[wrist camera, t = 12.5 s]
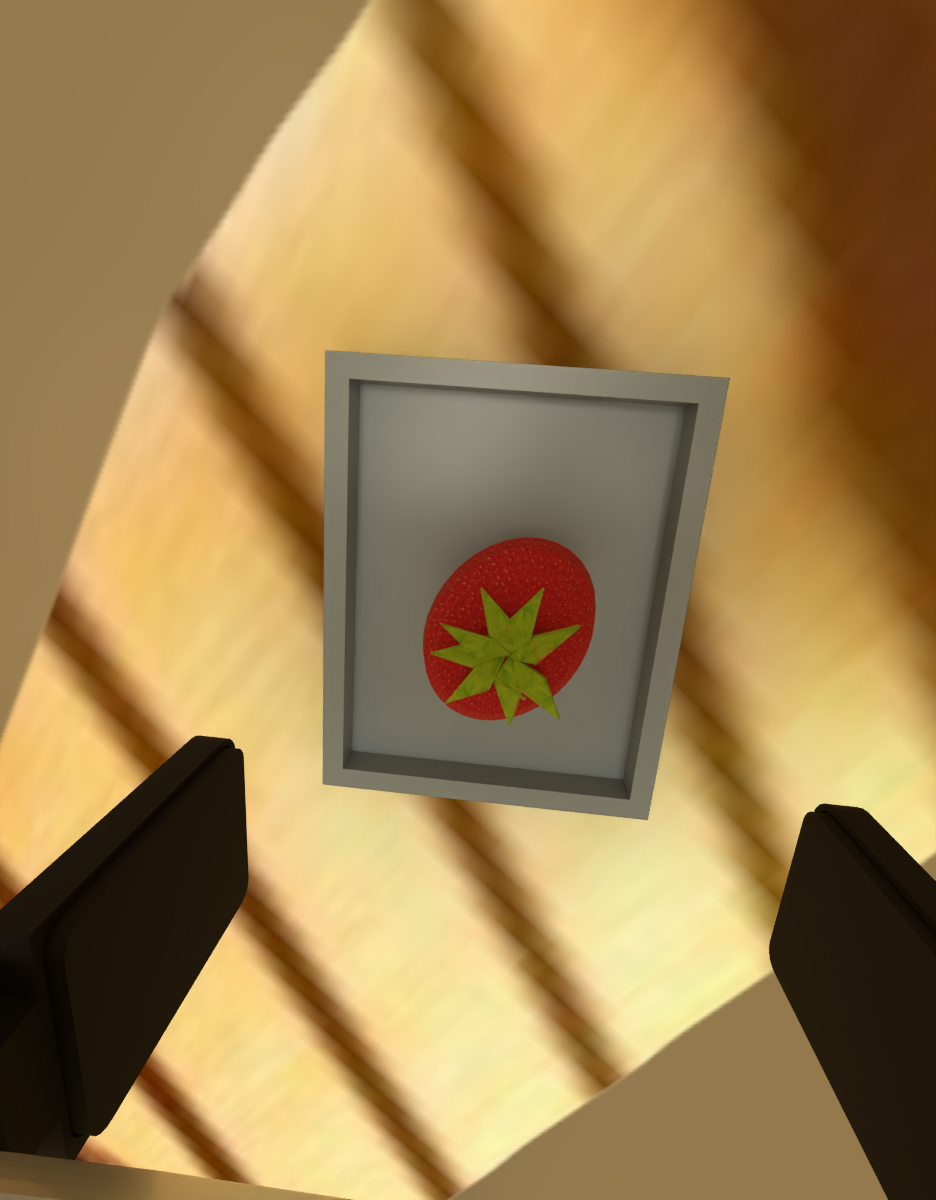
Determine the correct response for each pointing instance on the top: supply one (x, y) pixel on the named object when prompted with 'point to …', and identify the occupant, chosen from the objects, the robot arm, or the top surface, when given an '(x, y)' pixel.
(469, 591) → the strawberry
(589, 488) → the tray
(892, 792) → the top surface
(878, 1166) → the robot arm
